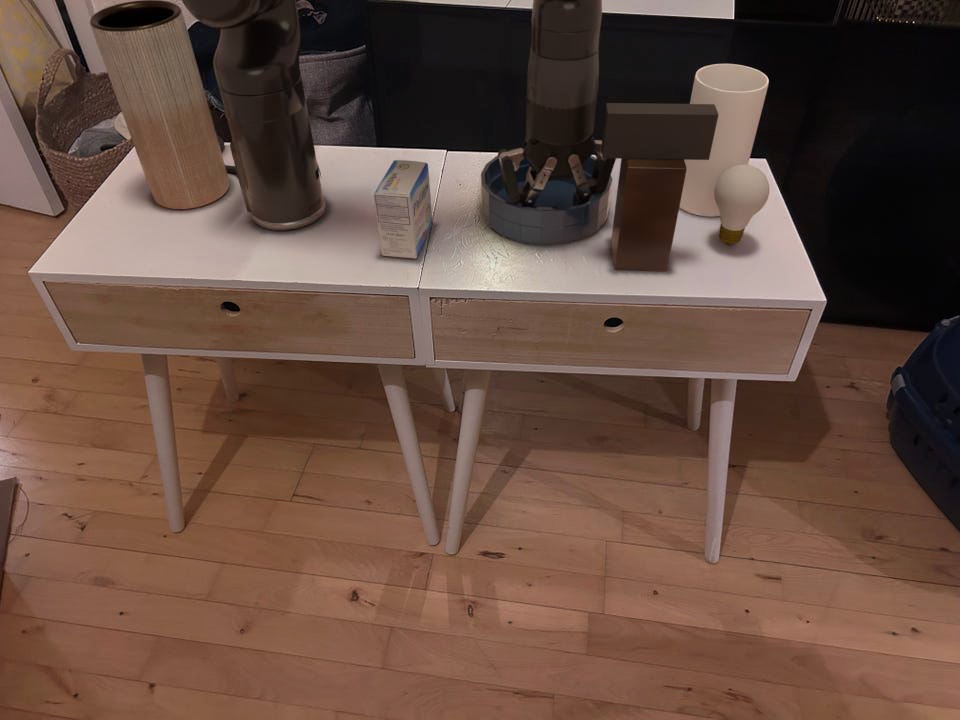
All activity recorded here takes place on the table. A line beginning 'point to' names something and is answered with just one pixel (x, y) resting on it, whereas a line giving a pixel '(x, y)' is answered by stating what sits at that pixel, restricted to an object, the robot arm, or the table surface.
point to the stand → (646, 213)
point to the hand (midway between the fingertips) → (553, 225)
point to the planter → (162, 100)
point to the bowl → (542, 208)
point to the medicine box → (403, 208)
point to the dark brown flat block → (658, 131)
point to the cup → (723, 129)
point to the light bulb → (739, 200)
